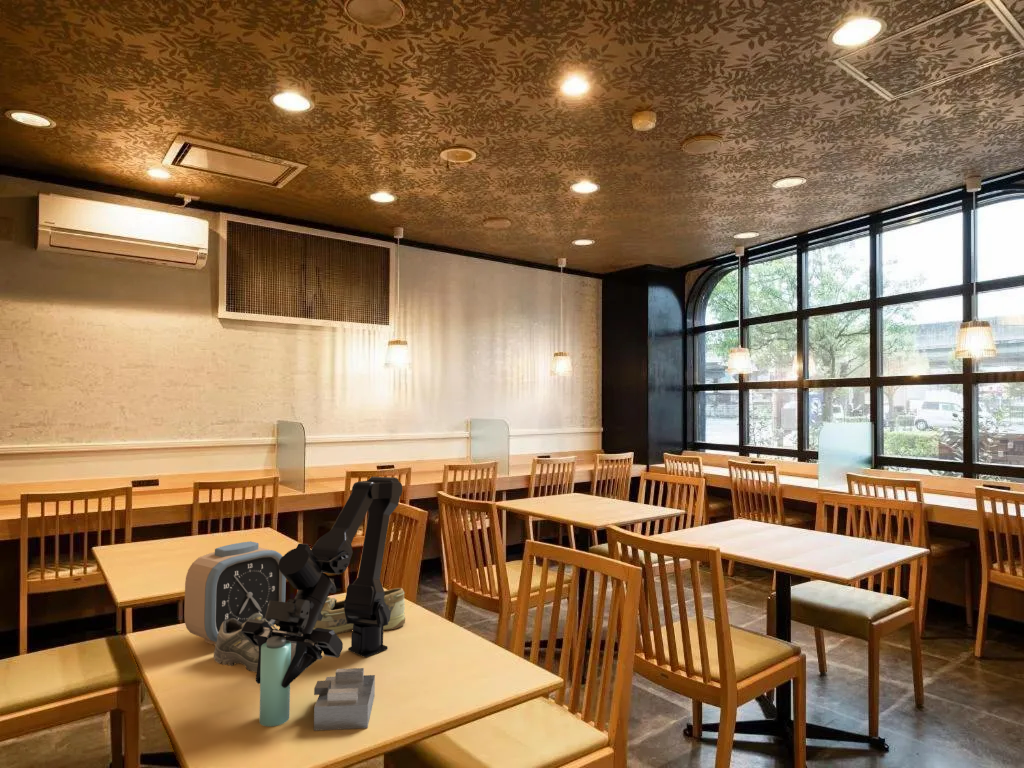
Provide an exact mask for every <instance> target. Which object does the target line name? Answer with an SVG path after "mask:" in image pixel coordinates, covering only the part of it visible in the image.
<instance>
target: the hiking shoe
mask: <svg viewBox="0 0 1024 768" xmlns="http://www.w3.org/2000/svg"><path fill="white" fill-rule="evenodd" d="M250 619H253V620H261V621H266V622H267V623H269V624H270V625H271V627H272V628H273V629H277V630H279V629H278V628H277V626H276V625H272V624H271V623H270V622H268V621H267V620H266V619H265V618H264V619H263V615H262V614H261V613H255V614H253V615H252V616H250V617H249V618H247V621H248V620H250ZM245 623H246V622H244V623H241V622H239V621H238V620H237V619H235V618H231V619H228V620H225V621H224V622H223V623H222V625H221V626H220V628H219V633H218V635H217V641H216V644H215V645H214V646H215V647H214V651H213V659H214V661H215V662H216V663H217V664H221V665H224V666H226V665H228V666H230V667H232V666H234V665H235V664H241V665H243V666H245V668H246V670H248V671H249V672H254V673H257V666H258V658H259V646H255V645H253V644H252V643H251V642H250V641H249V640H248V639H247V638H246V637H245V636H244V635H243V634H242V633H241V632H240V631H241V630H242V628H243V626H244V624H245ZM295 651H296V644H295V643H291V661H292V659H293V657H294V655H295Z"/></svg>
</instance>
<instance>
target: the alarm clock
mask: <svg viewBox="0 0 1024 768" xmlns="http://www.w3.org/2000/svg"><path fill="white" fill-rule="evenodd" d="M283 556H284V555H282V554H281V553H280V552H278V551H276V550H273V549H269V548H263V547H259V543H258V542H254V541H243V542H238V543H231V544H227V545H223V546H218V547H217V548H214V552H209V553H206V554H204V555H202V556H199V557H198V558H196V559H195V560H194V561H193V562H192V563H191V565H190V566H189V568H188V569H187V572H186V576H185V580H184V581H185V583H184V609H183V610H184V614H183V616H184V623H185V624H184V625H185V628H186V630H187V631H188V632H189V634H193V635H196V636H197V637H200V638H203V639H204V642H205V643H208V644H210V645H213V646H215V644H216V641H217V635H218V633H219V628H220V626H221V625H222V623H223V622H224V621H225V620H228V619H231V618H235V619H237V620H238V621H239V622H241V623H244V622H246V621H247V618H249V617H250V616H252V615H253V614H255V613H261V614H262V615H263V619H264V618H265V615H266V612H267V608H268V605H269V601H279V602H286V583H287V579H286V578H285V577H284V575H283V574H282V573H281V572H280V570H279V561H280V559H281V557H283ZM266 620H267V621H268V622H270V623H271V624H272V625H274V626H276V625H275V624H274V622H275V620H273V619H266ZM268 624H269V623H268ZM269 625H270V624H269ZM270 626H271V625H270ZM271 627H272V626H271Z"/></svg>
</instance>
